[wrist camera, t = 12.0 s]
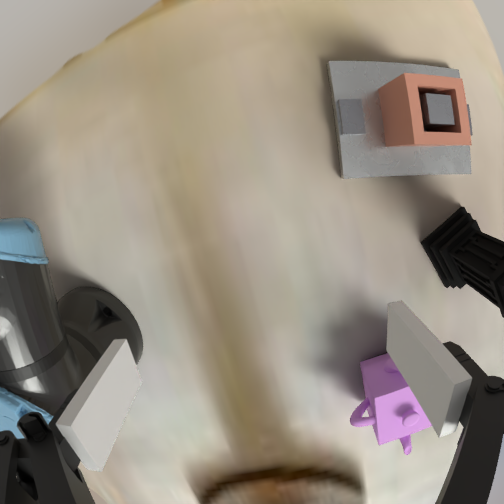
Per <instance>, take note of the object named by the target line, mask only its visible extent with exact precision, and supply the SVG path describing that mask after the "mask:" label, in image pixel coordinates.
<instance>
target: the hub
mask: <svg viewBox="0 0 504 504" xmlns="http://www.w3.org/2000/svg"><path fill="white" fill-rule="evenodd" d="M378 92H379V98H380V105H381V111H382V119H383V127H384V135H385V144H386V147H400V146H459V145H471V135H470V126H469V118H468V111H467V104H466V98H465V92H464V86H463V81H462V79H460V78H453V77H445V76H436V75H426V74H414V73H403V74H401V75H400V76H398V77H396V78H395V79H393V80H392V81H390V82H388V83H387V84H385V85H384V86H382V87H380V88H379V89H378ZM425 93H429V94H441V95H451V101H452V108H453V116H454V124H455V125H449V126H442V127H435V128H429V129H426V131H427V132H424V128H423V120H422V112H421V105H420V99H419V96H420V95H423V94H425Z"/></svg>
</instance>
